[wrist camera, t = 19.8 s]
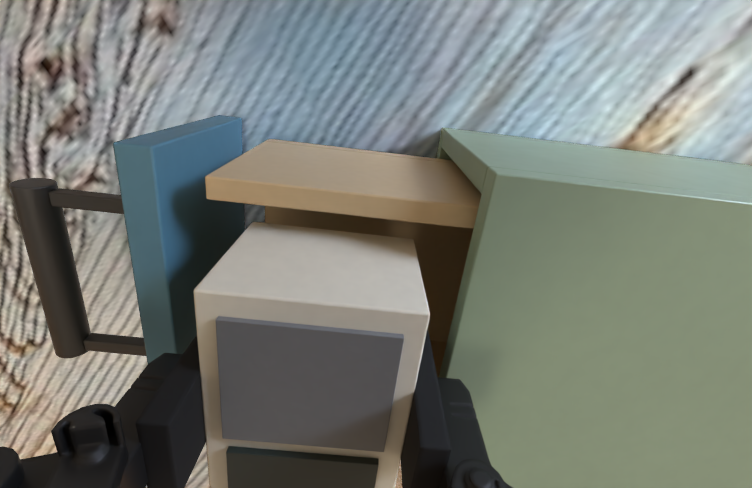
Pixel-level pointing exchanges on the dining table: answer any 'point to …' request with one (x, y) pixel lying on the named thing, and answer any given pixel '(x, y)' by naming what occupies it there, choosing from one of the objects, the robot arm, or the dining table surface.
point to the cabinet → (605, 314)
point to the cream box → (309, 357)
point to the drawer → (239, 222)
